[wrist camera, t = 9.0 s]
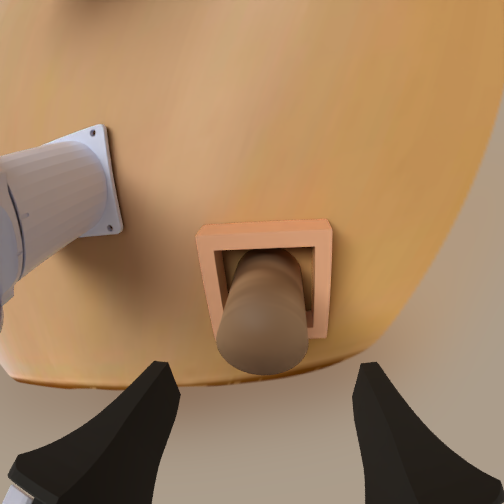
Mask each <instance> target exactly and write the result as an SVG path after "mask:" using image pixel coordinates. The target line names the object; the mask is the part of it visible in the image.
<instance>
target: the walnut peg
mask: <svg viewBox="0 0 504 504" xmlns="http://www.w3.org/2000/svg"><path fill="white" fill-rule="evenodd" d="M216 343H217V347H218V350H219V352H220V354H221V355H222V357H223V358H224V359H225V360H226V361H227V362H228V363H229V364H230V365H232V366H233V367H235V368H237V369H239V370H241V371H244V372H247V373H250V374H256V375H273V374H278V373H282V372H285V371H287V370H290V369H291V368H293V367H295V366H296V365H297V364H299V363H300V362H301V361H302V359H303V358H304V356H305V355H306V353H307V350H308V331H307V321H306V312H305V303H304V294H303V285H302V277H301V270H300V266H299V264H298V262H297V260H296V259H295V258H294V257H293V256H292V255H291V254H290V253H289V252H287V251H286V250H284V249H281V248H263V249H252V250H250V251H249V252H247V253H246V254H245V255H244V256H243V257H242V258H241V260H240V261H239V263H238V265H237V268H236V272H235V275H234V278H233V282H232V285H231V288H230V292H229V295H228V298H227V302H226V305H225V308H224V312H223V315H222V318H221V322H220V325H219V328H218V332H217V336H216Z"/></svg>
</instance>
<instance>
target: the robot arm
mask: <svg viewBox="0 0 504 504" xmlns="http://www.w3.org/2000/svg"><path fill="white" fill-rule="evenodd" d="M94 130H95V132H96V134H95V136H94V135H93V131H94ZM110 225H111V226H112V227H113V230H112V229H111V228H110ZM122 230H123V223H122V218H121V214H120V209H119V204H118V199H117V194H116V189H115V183H114V177H113V171H112V165H111V159H110V152H109V145H108V137H107V129H106V126H105V125H103V124H98V125H95V126H92V127H89V128H86V129H83V130H80V131H77V132H75V133H72V134H69V135H66V136H64V137H61V138H59V139H56V140H54V141H51V142H49V143H46V144H44V145H42V146H39V147H35V148H30V149H26V150H22V151H18V152H14V153H10V154H6V155H3V156H0V332H1V329H2V326H3V318H4V316H3V308H2V306H3V305H4V304H5V303H6V302H7V301H9V300H10V299H11V298H12V297H13V296H14V291H13V290H14V285H15V284H16V282H18V281H19V280H20V279H21V278H23V277H24V276H25V275H27V274H28V273H29V272H31V271H32V270H33V269H34V268H36V267H37V266H38V265H40V264H41V263H42V262H44V261H45V260H47V259H48V258H49V257H51V256H52V255H53V254H55V253H56V252H58V251H59V250H61V249H62V248H63V247H65V246H66V245H68V244H69V243H71V242H72V241H74V240H75V239H77V238H79V237H90V236H100V235H111V234H119V233H120V232H121V231H122ZM180 395H181V394H180V392H179V389H178V387H177V384H176V382H175V379H174V377H173V374H172V372H171V369H170V366H169V364H168V362H159V361H154V362H153V363H152V364H151V365H150V366H149V367H148V368H147V369H146V370H145V371H144V372H143V373H142V374H141V375H140V376H139V377H138V378H137V379H136V380H135V381H134V382H133V383H132V384H131V385H130V386H129V387H128V388H127V389H126V390H125V391H124V392H123V393H122V394H120V395H119V396H118V397H117V398H116V399H115V400H114V401H113V402H112V403H111V404H110V405H108V406H107V407H106V408H105V409H104V410H103V411H101V412H100V413H99V414H98V415H97V416H95V417H94V418H93V419H91V420H90V421H88V422H87V423H86V424H84V425H83V426H81V427H80V428H78V429H77V430H75V431H73V432H71V433H70V434H68V435H66V436H65V437H63V438H61V439H59V440H57V441H55V442H53V443H51V444H48V445H46V446H44V447H41V448H39V449H36V450H33V451H30V452H26V453H23V454H20V455H18V456H17V458H16V460H15V462H14V464H13V465H12V467H11V469H10V471H9V473H8V478H9V479H11V480H12V481H13V482H14V483H16V484H17V485H18V486H20V487H21V488H22V489H23V490H25V491H26V492H28V493H29V494H30V495H32V496H33V497H35V498H34V499H33V498H31V497H29V496H28V495H27V494H25V493H24V492H23V491H21V490H20V489H19V488H17V487H15V486H14V485H11V486H10V488H9V490H8V492H7V494H6V496H5V499H4V501H3V503H2V504H152V497H153V491H154V486H155V480H156V475H157V471H158V466H159V463H160V460H161V457H162V454H163V451H164V449H165V446H166V443H167V440H168V438H169V435H170V432H171V429H172V426H173V423H174V421H175V417H176V414H177V410H178V405H179V400H180ZM352 400H353V412H354V421H355V426H356V431H357V436H358V441H359V446H360V450H361V456H362V461H363V467H364V475H365V504H502V503H503V502H504V490H503V487H502V484H501V481H500V480H498V479H496V478H494V477H492V476H490V475H488V474H486V473H484V472H482V471H481V470H479V469H477V468H476V467H474V466H473V465H471V464H470V463H468V462H467V461H465V460H464V459H463V458H461V457H460V456H459V455H458V454H456V453H455V452H454V451H452V450H451V449H450V448H449V447H447V446H446V445H445V444H444V443H443V442H442V441H441V440H440V439H439V438H438V437H437V436H436V435H434V434H433V433H432V432H431V431H430V430H429V429H428V427H427V426H426V425H425V424H424V423H423V422H422V421H421V420H420V418H419V417H418V416H417V415H416V414H415V413H414V411H413V410H412V409H411V408H410V407H409V405H408V404H407V403H406V402H405V400H404V399H403V398H402V396H401V395H400V394H399V392H398V391H397V390H396V388H395V387H394V385H393V384H392V383H391V382H390V380H389V378H388V377H387V376H386V374H385V373H384V371H383V370H382V368H381V367H380V365H379V364H378V363H377V362H371V363H361V365H360V369H359V374H358V377H357V381H356V384H355V388H354V392H353V396H352Z"/></svg>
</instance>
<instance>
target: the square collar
mask: <svg viewBox="0 0 504 504" xmlns="http://www.w3.org/2000/svg"><path fill="white" fill-rule="evenodd" d="M195 239H196V245H197V251H198V256H199V262H200V268H201V273H202V278H203V284H204V289H205V294H206V299H207V304H208V309H209V314H210V319H211V323H212V328H213V333H214V337H215V339H216V336H217V332H218V328H219V325H220V322H221V318H222V315H223V312H224V308H225V305H226V302H227V298H228V290H227V284H226V277H225V270H224V263H223V256H222V250H239V249H263V248H288V247H312V300H311V311H305V312H306V321H307V331H308V339H312V338H327V329H328V317H329V303H330V286H331V264H332V228H331V226H330V223H329V221H328V219H307V220H283V221H262V222H243V223H225V224H209V225H203V226H202V227H201V229H200V230H199V231H198V233H197V234H196V235H195Z"/></svg>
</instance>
